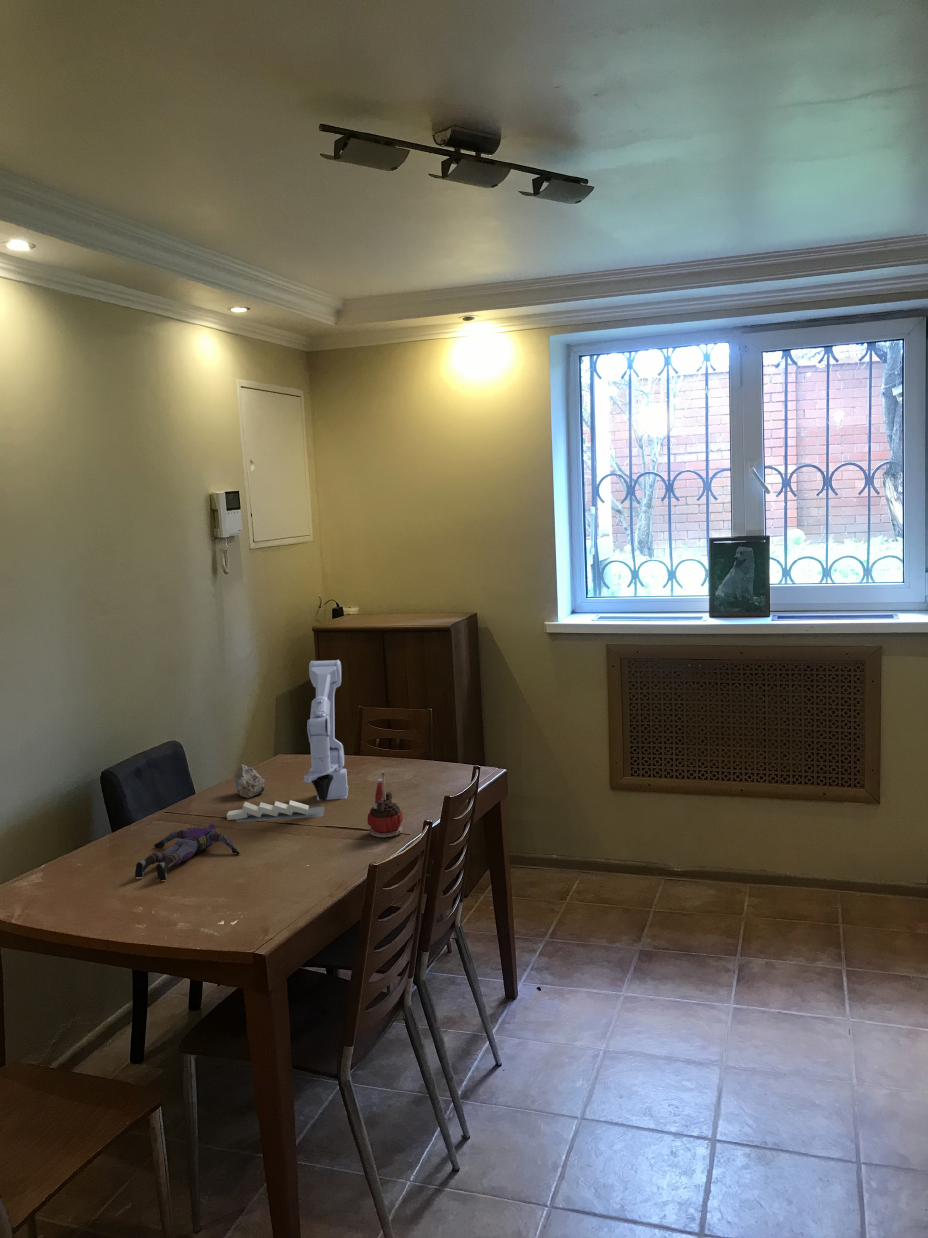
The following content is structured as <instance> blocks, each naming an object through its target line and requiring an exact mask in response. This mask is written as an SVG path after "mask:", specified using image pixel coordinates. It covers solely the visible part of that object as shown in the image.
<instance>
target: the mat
mask: <svg viewBox="0 0 928 1238" xmlns="http://www.w3.org/2000/svg"><path fill="white" fill-rule="evenodd" d="M325 808H326V807H325V806H319V807H318V806H317V807H309V808H308V811H307V814H306V815H305V814H302V813H299V812H295V811H293V813H292V816H291V815H288V814H284V813H281V812H278V815H277V817H276V816H273V815H269V814H266V813H262V814H261V817H257V816H254V815H252V814H249V815H248V817H247V818H241V819H235V823H240V822H242V823H243V822H256V821H270V820H271V821H272V820H273V821H275V820H288V819H305V818H306V819H307V818H323V817H324V814H325V813H324V812H325V810H326V809H325Z"/></svg>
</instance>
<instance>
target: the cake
mask: <svg viewBox="0 0 928 1238" xmlns="http://www.w3.org/2000/svg"><path fill="white" fill-rule="evenodd" d="M385 776H386V772H385V771H382V772H381V778H379V779H377V785H376V789H375V797H374V798H375V800H374V803H373V806H372V807H371V808H370V809H369V813H368V814H367V825H368V826H369V827H370V828H369V830H368V833H369V835H371V836H373V837H377V838H389V837H394V836H397V835H399V834H401V833H402V832H403V831H404V827H402V825H401V824H402V823H403V812H402V810H401V809H400V808H401V807H400V806H399V805H397V803H396V802H392V799H393V794H392V791H387V792H386V777H385Z"/></svg>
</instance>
